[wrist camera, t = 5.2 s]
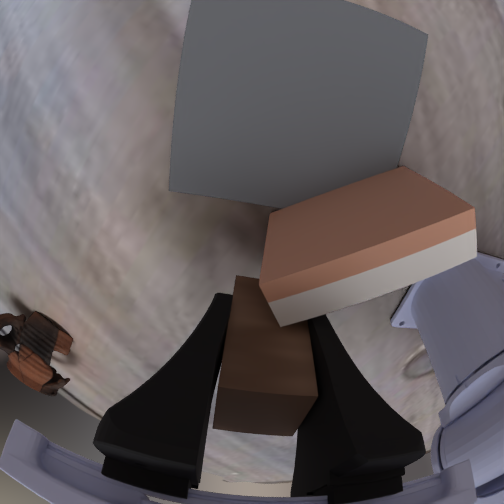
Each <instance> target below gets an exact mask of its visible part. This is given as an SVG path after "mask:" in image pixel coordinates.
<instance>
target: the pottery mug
mask: <svg viewBox="0 0 504 504" xmlns="http://www.w3.org/2000/svg"><path fill="white" fill-rule="evenodd" d="M25 320H26V316H25V315H24V314H21V315H20V316H14V315H12V314H10V313H5V314H1V315H0V330H1V329H2V328H3V327H4V326H8V325H11V326H12V330H11V331H10V333H9V334H7V335H5V336H2V335H0V349H2V350H4V351H5V352H6V353H7V354H8V356H9V360H8V362H7V367H8V369H9V370H10V371H11V373H12V374H13V375H14V376H15V377H16V378H18V379H19V380H20V381H21V382H23V383H25V384H26V385H27V386H29V387H31V388H33V389H34V390H37V391H39V392H41V393H43V394H45V395H49V396H56V395H57V391H58V389H59V388H62V387H64V385H66V384H67V383H68V382H69V381H70V378H66V379H64V378H62V376H61V375H60V374H57V373H56V372H57V371H56V370H55V369H54V368H53V367H51V366H50V361H51V356H52V352H53V350H54V351H58V352H60V353H63V354H64V355H68V354H69V352H70V347H71V344H72V341H73V338H72V337H70V336H69V335H67V334H66V333H65V332H62V331H61V330H59V329H58V328H57V327H55V326H54V325H52V323H51V322H50V321H48V320H47V319H45V318H44V317H43V316H42V315H40V314H39V313H37V312H36V311H35V312H34V313H33V314H32V315H31V317H29V318H28V319H27V321H25ZM18 344H20V346H19V352H18V351H15V346H16V345H18Z"/></svg>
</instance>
